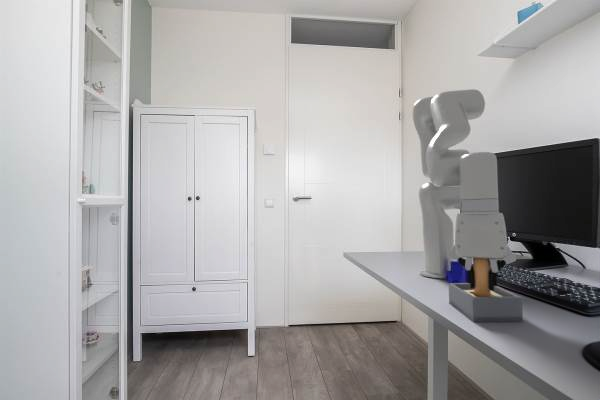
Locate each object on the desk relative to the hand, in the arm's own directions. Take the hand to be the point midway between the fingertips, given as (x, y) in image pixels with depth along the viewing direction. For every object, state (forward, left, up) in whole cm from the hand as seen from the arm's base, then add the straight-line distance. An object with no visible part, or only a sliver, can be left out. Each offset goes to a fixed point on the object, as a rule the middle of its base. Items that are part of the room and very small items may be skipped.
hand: (482, 287), depth 72 cm
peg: (0, 0, -3) cm, 3 cm away
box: (0, 0, -6) cm, 6 cm away
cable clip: (-23, -7, -6) cm, 25 cm away
